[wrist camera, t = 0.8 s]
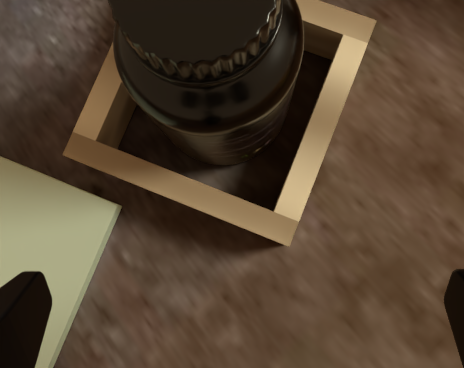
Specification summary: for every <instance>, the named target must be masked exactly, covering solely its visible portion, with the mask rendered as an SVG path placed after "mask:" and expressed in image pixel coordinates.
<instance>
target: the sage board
mask: <svg viewBox="0 0 464 368" xmlns="http://www.w3.org/2000/svg"><path fill="white" fill-rule="evenodd" d="M121 208H122V206H121V205H118V204H116V203H114V202H111V201H109V200H106V199H104V198H101V197H99V196H97V195H94V194H92V193H89V192H87V191H84V190H82V189H80V188H77V187H75V186H72V185H70V184H67V183H65V182H62V181H60V180H58V179H55V178H53V177H50V176H48V175H45V174H43V173H41V172H38V171H36V170H33V169H31V168H28V167H26V166H24V165H21V164H19V163H16V162H14V161H11V160H9V159H6V158H4V157H2V156H0V287H2V286H3V285H4V284H6V283H7V282H8V281H10V280H11V279H13V278H14V277H15V276H17V275H18V274H20V273H21V272H24V271H40V272H42V273H43V274H44V276H45V279H46V281H47V284H48V287H49V290H50V293H51V295H52V308H51V312H50V316H49V319H48V323H47V326H46V330H45V334H44V337H43V341H42V344H41V348H40V352H39V355H38V359H37V362H36V366H35V368H53V367H54V365H55V362H56V360H57V358H58V355H59V353H60V351H61V348H62V346H63V344H64V341H65V339H66V337H67V334H68V332H69V330H70V327H71V325H72V323H73V320H74V318H75V316H76V313H77V311H78V309H79V306H80V304H81V302H82V299H83V297H84V295H85V292H86V290H87V288H88V285H89V283H90V281H91V278H92V276H93V274H94V271H95V269H96V267H97V264H98V262H99V260H100V257H101V255H102V253H103V250H104V248H105V246H106V243H107V241H108V239H109V236H110V234H111V232H112V229H113V227H114V225H115V222H116V220H117V218H118V215H119V213H120V210H121Z"/></svg>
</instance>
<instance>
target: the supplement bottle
mask: <svg viewBox="0 0 464 368" xmlns="http://www.w3.org/2000/svg"><path fill="white" fill-rule="evenodd" d="M108 3H109V5H110V7H111V8H112V14H113V19H114V21H115V25H114V31H113V52H114V59H115V63H116V67H117V71H118V73H119V76H120V78H121V81H122V83H123V85H124V87H125V88H126V90H127V91H128V93H129V95H130V96H131V97H132V99H133V100H134V101H135V103H136V104H137V105H138V106H139V107H140V108H141V109H142V111H143V112H144V113H145V114H146V115H147V116H148V117H149V118H150V119H151V120H152V121H153V122H154V123H155V124H156V125H157V126H158V127H159V128H160V129H161V131H162V132H163V133H164V134H165V135H166V136H167V137H168V138H169V139H170V140H171V141H172V142H173V143H174V144H175V145H176V146H177V147H178V148H179V149H180V150H182V151H183V152H184V153H186V154H187V155H189V156H190V157H192V158H194V159H196V160H199V161H201V162H204V163H208V164H213V165H232V164H238V163H241V162H244V161H247V160H249V159H251V158H253V157H255V156H257V155H258V154H260V153H261V152H263V151H264V150H265V149H266V148H267V147H268V146H269V145H270V144H271V143H272V142H273V141H274V139H275V138H276V137H277V135H278V134H279V132H280V130H281V128H282V126H283V123H284V121H285V118H286V115H287V112H288V108H289V105H290V101H291V98H292V95H293V91H294V88H295V84H296V81H297V77H298V74H299V71H300V67H301V62H302V57H303V50H304V26H303V21H302V16H301V13H300V9H299V6H298V4H297V2H296V0H108Z"/></svg>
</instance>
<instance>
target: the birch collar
mask: <svg viewBox="0 0 464 368" xmlns="http://www.w3.org/2000/svg"><path fill="white" fill-rule="evenodd" d="M296 2H297V4H298V6H299V9H300V13H301V16H302V21H303V26H304V50H305V51H308V52H310V53H313V54H316V55H319V56H322V57H324V58H327V59H330V60H332V62H331V64H330V67H329V70H328V72H327V75H326V77H325V80H324V82H323V85H322V87H321V90H320V92H319V95H318V98H317V100H316V103H315V105H314V108H313V110H312V113H311V115H310V118H309V120H308V123H307V125H306V128H305V131H304V133H303V136H302V138H301V141H300V143H299V146H298V148H297V151H296V153H295V156H294V159H293V161H292V164H291V166H290V169H289V171H288V174H287V176H286V179H285V181H284V184H283V186H282V189H281V192H280V194H279V197H278V199H277V202H276V204H275V207H274V209H273V211H271V210H268V209H266V208H263V207H260V206H258V205H255V204H253V203H250V202H248V201H245V200H243V199H240V198H238V197H235V196H233V195H230V194H228V193H225V192H223V191H220V190H218V189H215V188H213V187H210V186H208V185H205V184H203V183H200V182H198V181H195V180H193V179H190V178H188V177H185V176H183V175H180V174H178V173H175V172H173V171H170V170H168V169H165V168H163V167H160V166H158V165H155V164H152V163H150V162H147V161H145V160H142V159H140V158H137V157H135V156H132V155H130V154H127V153H125V152H122V151H120V150H117V149H118V146H119V144H120V142H121V140H122V137H123V135H124V133H125V130H126V128H127V126H128V124H129V121H130V119H131V117H132V114H133V112H134V110H135V107H136V105H137V104H136V103H135V101H134V100H133V99H132V97H131V96H130V95H129V93H128V91H127V90H126V88H125V87H124V85H123V83H122V81H121V78H120V76H119V73H118V71H117V67H116V63H115V59H114V52H113V43H112V45H111V47H110V50H109V52H108V54H107V56H106V59H105V61H104V63H103V65H102V68H101V70H100V72H99V74H98V76H97V79H96V81H95V83H94V85H93V88H92V90H91V92H90V94H89V97H88V99H87V101H86V103H85V106H84V108H83V110H82V112H81V114H80V117H79V119H78V121H77V123H76V126H75V128H74V130H73V132H72V135H71V137H70V139H69V141H68V144H67V146H66V148H65V150H64V152H63V155H64V156H66V157H68V158H71V159H73V160H76V161H78V162H80V163H83V164H85V165H87V166H90V167H92V168H95V169H97V170H100V171H102V172H105V173H107V174H110V175H112V176H115V177H117V178H120V179H122V180H124V181H127V182H129V183H132V184H134V185H137V186H139V187H142V188H144V189H147V190H149V191H152V192H154V193H157V194H159V195H162V196H164V197H166V198H169V199H171V200H174V201H176V202H179V203H181V204H184V205H186V206H189V207H191V208H194V209H196V210H199V211H201V212H204V213H206V214H208V215H211V216H213V217H216V218H218V219H221V220H223V221H226V222H228V223H231V224H233V225H236V226H238V227H241V228H243V229H246V230H248V231H250V232H253V233H255V234H258V235H260V236H263V237H265V238H268V239H270V240H273V241H275V242H278V243H280V244H283V245H285V246H288V247H289V246H290V243H291V241H292V238H293V236H294V233H295V230H296V228H297V225H298V223H299V220H300V218H301V215H302V212H303V210H304V207H305V205H306V202H307V199H308V197H309V194H310V192H311V189H312V187H313V184H314V181H315V179H316V176H317V174H318V171H319V168H320V166H321V163H322V161H323V158H324V155H325V153H326V150H327V148H328V145H329V143H330V140H331V137H332V135H333V132H334V130H335V127H336V124H337V122H338V119H339V117H340V114H341V111H342V109H343V106H344V104H345V101H346V99H347V96H348V93H349V91H350V88H351V86H352V83H353V80H354V78H355V75H356V73H357V70H358V68H359V65H360V62H361V60H362V57H363V55H364V52H365V49H366V47H367V44H368V42H369V39H370V36H371V34H372V31H373V29H374V26H375V24H376V21H377V20H374V19H371V18H368V17H365V16H362V15H359V14H357V13H354V12H351V11H348V10H345V9H342V8H339V7H336V6H333V5H331V4H328V3H325V2H322V1H319V0H296Z"/></svg>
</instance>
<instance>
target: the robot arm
mask: <svg viewBox="0 0 464 368" xmlns="http://www.w3.org/2000/svg"><path fill="white" fill-rule="evenodd" d="M444 305H445V309H446V312H447V316H448V319H449V322H450V325H451V329H452V332H453V335H454V339H455V342H456V345H457V349H458V352H459V355H460V359H461V362H462V365H463V368H464V269H456V270H454V271H453V272H452V274H451V277H450V280H449V283H448V286H447V289H446V292H445V296H444ZM51 308H52V295H51V293H50V290H49V287H48V284H47V281H46V279H45V276H44V274H43V273H42V272H40V271H24V272H21V273H20V274H18V275H17V276H15V277H14V278H13V279H11V280H10V281H8V282H7V283H6V284H4V285H3V286H2V287H0V368H35V366H36V362H37V359H38V355H39V352H40V348H41V344H42V341H43V337H44V334H45V330H46V326H47V323H48V319H49V316H50V312H51Z"/></svg>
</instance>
